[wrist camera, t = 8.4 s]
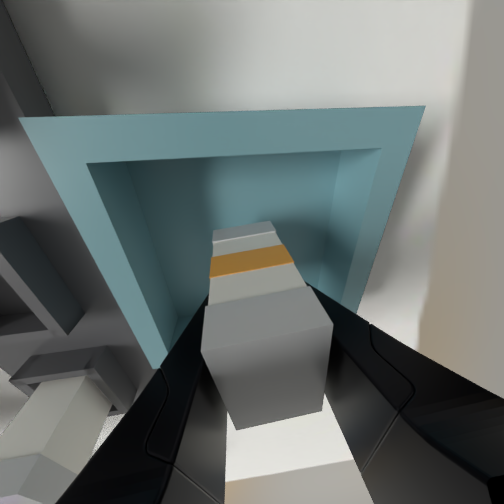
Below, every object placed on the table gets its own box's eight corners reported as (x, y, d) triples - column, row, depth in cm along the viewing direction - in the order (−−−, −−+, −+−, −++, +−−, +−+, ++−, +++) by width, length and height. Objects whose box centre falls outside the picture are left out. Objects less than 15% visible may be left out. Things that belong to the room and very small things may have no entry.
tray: (360, 117, 9) (425, 105, 6) (323, 301, 16) (347, 339, 13) (92, 126, 8) (18, 117, 5) (167, 322, 14) (152, 369, 11)
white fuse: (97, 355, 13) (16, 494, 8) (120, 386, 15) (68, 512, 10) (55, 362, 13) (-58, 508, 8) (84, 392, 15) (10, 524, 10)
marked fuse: (269, 220, 9) (333, 324, 4) (275, 286, 11) (321, 410, 6) (213, 230, 9) (201, 351, 4) (229, 295, 11) (236, 430, 6)
